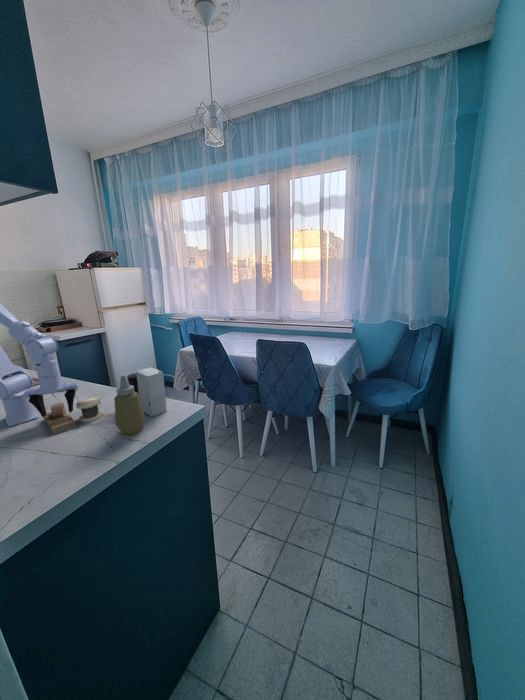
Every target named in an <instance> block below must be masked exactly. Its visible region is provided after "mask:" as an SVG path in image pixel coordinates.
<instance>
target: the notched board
mask: <svg viewBox="0 0 525 700" xmlns="http://www.w3.org/2000/svg"><path fill="white" fill-rule="evenodd" d="M65 412H66V413H67V411H66V410H65ZM43 420H44V423H45V424H46V425H47V427H48V428H49V430H50V431H51V432H52V434H53V435H56V434H60V433H62V432H65V431H68V430H71V429H74V428H76V427H77V424H76V421H75V420H74V418H73V417H72V416H71V415H70V414H68V415H67V414H66V416H64V417H61V418H58V419H55V420H53V416H52V412H51V411H49V412H46V415H45V417H43Z"/></svg>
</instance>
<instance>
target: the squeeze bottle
mask: <svg viewBox="0 0 525 700" xmlns="http://www.w3.org/2000/svg"><path fill="white" fill-rule="evenodd" d="M127 380H128V379H127V377H126V375H125V374H124V375H121V376H120V383H119V384H120V386H118V387H117V388H116V395H115V396H114V397H113V399H114V413H115V414H114V415H115V425H116V427H117V428H118V430H119V432H120V433H121V434H122V435H123V436H125V437H129V436H130V437H131V436H135V435H137V434H139V433H141V432H142V431H143V429H144V423H145V419H146V417H145V414H144V413H145V412H143V409H142V405H141V402H140V398H139V395H138V393H137V392H135V391H134V386H133V385H129V383H128V381H127Z"/></svg>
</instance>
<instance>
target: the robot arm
mask: <svg viewBox="0 0 525 700" xmlns="http://www.w3.org/2000/svg"><path fill="white" fill-rule="evenodd" d="M0 324H2V326H5V327H6V328H7V329H8V330H7V331H8V332H7V333H8V334H9V336H11V337H12V338H14V339H15V340H16V341H17V342H18V343H20V344H21V345H22V346H23V347H25V352H26V355H27V356H28V357H29V358H30V359H31V362H32V364H34V367H35V371H36V375H37V379H38V380H37V381H38V383H39V387H36V388H32V387H33V386H34V380H33V377H32V376H31V375H30V374H29V373H28V372H27V371H26V370H25V369H24V367H22V366H19V365H15V364H13V363H12V361H11V359H10V358H9V356H8V355H7V353H6V352H5V350H4V349H3V347H2V345H1V344H0V400H1V403H2V405H3V408H4V412H5V415H6V416H5V417H4V419H5V421H6V424H7V426H8V427H12V426H13V427H14V426H17V425H19V424H23V423H26V422H29V421H32V420H36V419H38V418H39V415H38V414H37V412H36V410H37V411H38V412H39V413H40V416H41V417H42V418H44V417H45V415H46V414H47V409H46V406H45V403H44V395H50V394H56V393H57V394H59V393H64V397H65V400H66V403H67V407H68V412H69V413H72V412H73V411H74V400H75V397H76V392H77V391H79V389H80V385H79V383H78V382H76V383H74V382H73V383H63V382H62V377H61V374H60V373H61V372H60V369H59V368H60V367H59V364H58V361H57V355H56V353H57V351H58V350H59V344H58V341H57V340H56V339H55V338H54V337H53V336H51V335H46V334H42V333H41V332H39V330H37V329H36V328H35V327H33V326H32V325H31V323H29V322H28V321H26V320H18V319H17V318H16V317H15V315H13V314H12V313H11V312H10V311H9V310H8V309H7V308H6V307H5V306H4V305H2V304H1V303H0ZM31 388H32V389H31ZM34 408H35V409H36V410H35V409H34Z"/></svg>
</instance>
